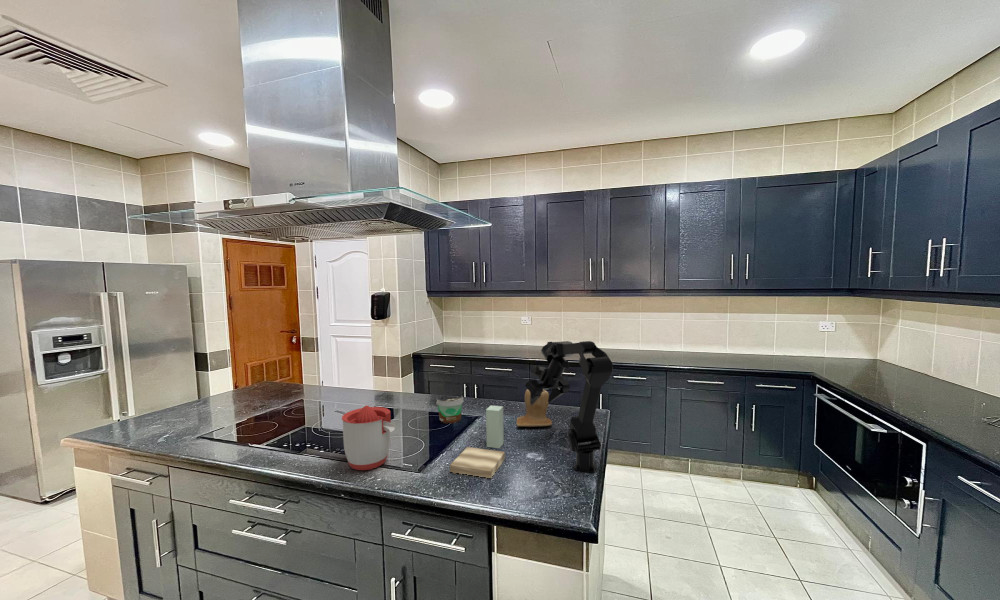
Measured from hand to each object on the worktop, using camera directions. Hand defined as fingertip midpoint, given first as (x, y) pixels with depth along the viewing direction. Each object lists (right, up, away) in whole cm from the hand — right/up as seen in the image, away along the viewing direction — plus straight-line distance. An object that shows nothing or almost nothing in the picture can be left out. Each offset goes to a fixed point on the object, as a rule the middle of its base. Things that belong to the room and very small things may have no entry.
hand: (540, 403), depth 149 cm
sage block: (-17, -14, -6) cm, 23 cm away
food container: (-37, -13, +18) cm, 43 cm away
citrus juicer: (-60, -16, -19) cm, 65 cm away
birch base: (-23, -15, -22) cm, 35 cm away
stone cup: (-1, -13, +14) cm, 19 cm away
